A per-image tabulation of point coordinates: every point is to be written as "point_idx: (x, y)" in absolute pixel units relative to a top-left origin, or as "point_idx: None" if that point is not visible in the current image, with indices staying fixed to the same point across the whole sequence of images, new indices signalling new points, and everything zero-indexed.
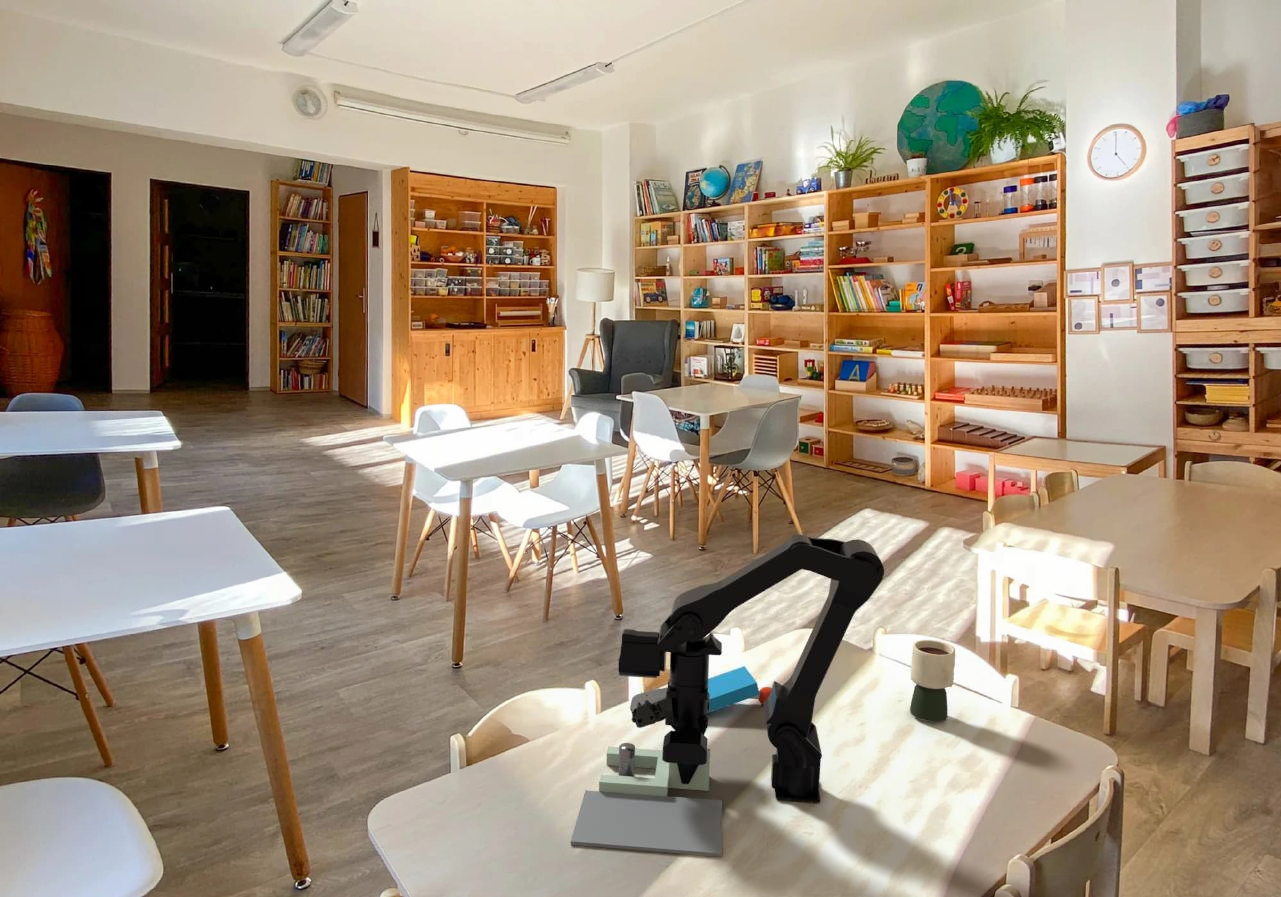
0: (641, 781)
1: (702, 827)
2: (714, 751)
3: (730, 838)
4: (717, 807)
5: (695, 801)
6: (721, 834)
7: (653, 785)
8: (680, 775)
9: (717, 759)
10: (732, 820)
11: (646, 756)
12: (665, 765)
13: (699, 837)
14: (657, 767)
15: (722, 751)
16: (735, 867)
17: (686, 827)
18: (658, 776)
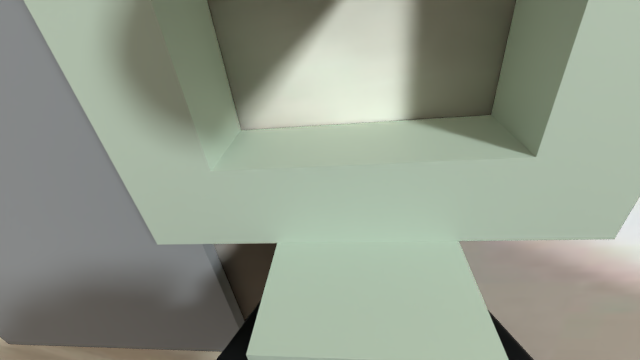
0: (118, 81)
1: (77, 312)
2: (627, 331)
3: (106, 348)
4: (204, 343)
5: (206, 296)
6: (82, 346)
7: (122, 175)
8: (253, 313)
9: (552, 337)
10: (184, 354)
11: (568, 47)
12: (399, 218)
13: (23, 307)
14: (363, 172)
15: (617, 350)
16: (12, 350)
17: (38, 278)
18: (245, 191)
